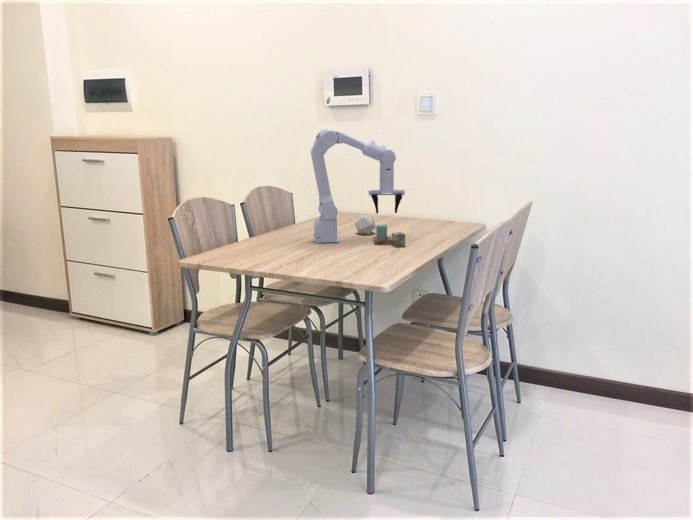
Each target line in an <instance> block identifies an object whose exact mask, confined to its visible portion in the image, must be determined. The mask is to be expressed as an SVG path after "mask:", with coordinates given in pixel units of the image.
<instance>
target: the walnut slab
mask: <svg viewBox="0 0 693 520" xmlns="http://www.w3.org/2000/svg"><path fill="white" fill-rule="evenodd" d="M372 238H373V240H372V241H373V245H374V246H392V235H391V236H387V239H377V238H376V236H373V237H372Z"/></svg>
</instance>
